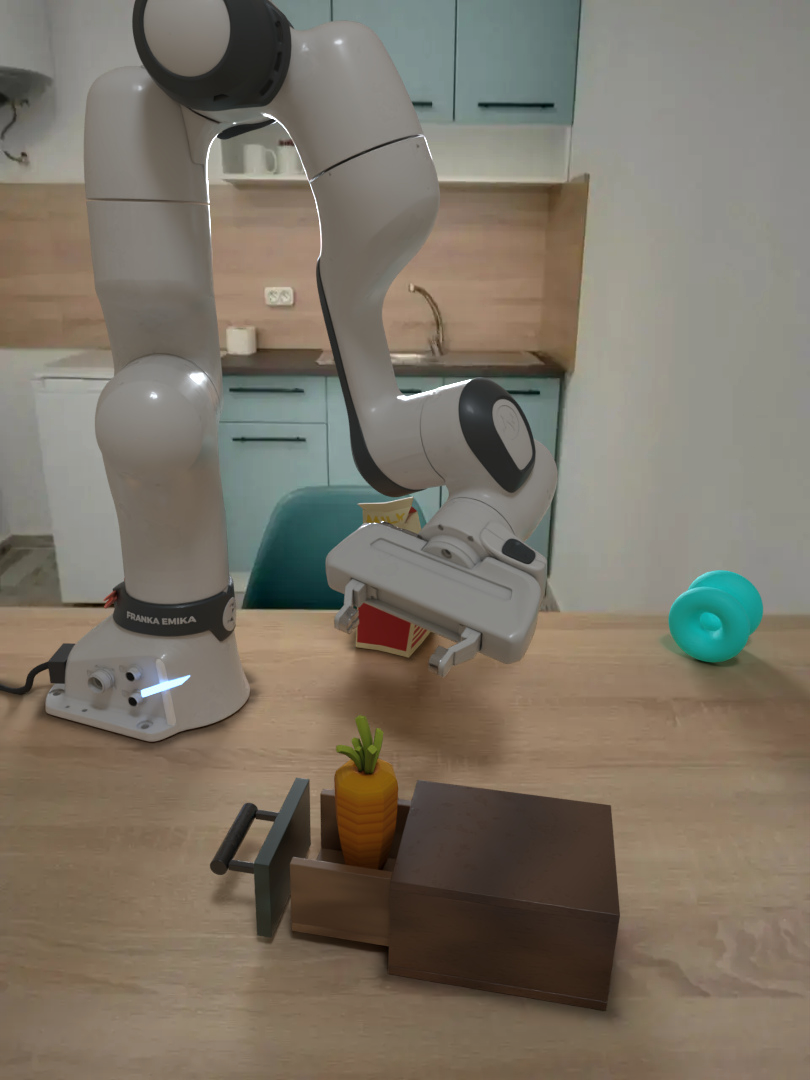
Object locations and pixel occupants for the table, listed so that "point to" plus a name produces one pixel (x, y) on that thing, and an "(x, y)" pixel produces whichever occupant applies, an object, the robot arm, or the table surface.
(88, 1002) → the table surface
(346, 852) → the carrot
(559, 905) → the cabinet
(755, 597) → the turquoise spool
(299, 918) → the drawer
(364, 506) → the milk carton
